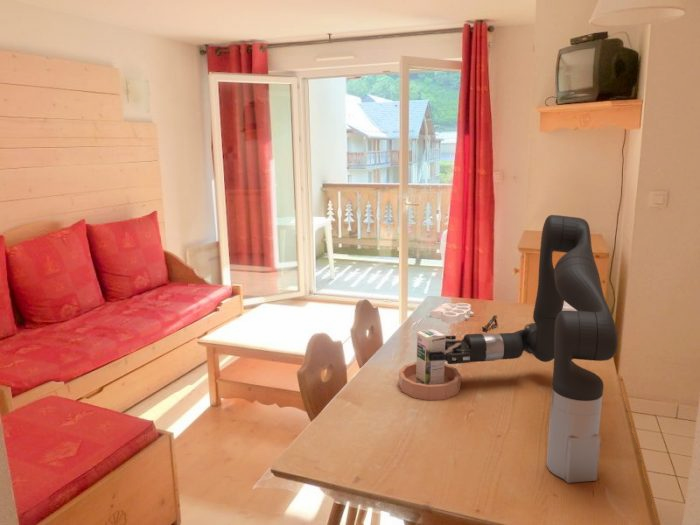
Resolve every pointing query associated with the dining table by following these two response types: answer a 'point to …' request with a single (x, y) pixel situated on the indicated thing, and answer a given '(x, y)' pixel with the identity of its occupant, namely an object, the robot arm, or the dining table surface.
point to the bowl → (429, 391)
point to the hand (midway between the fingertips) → (424, 350)
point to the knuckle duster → (452, 312)
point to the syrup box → (428, 369)
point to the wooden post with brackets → (491, 323)
